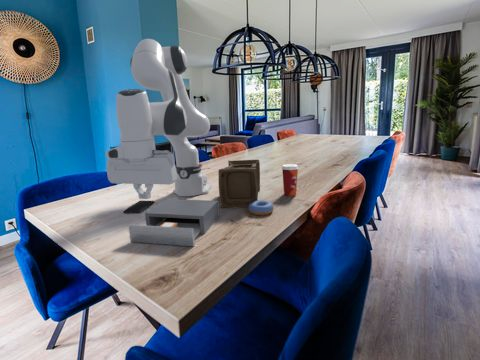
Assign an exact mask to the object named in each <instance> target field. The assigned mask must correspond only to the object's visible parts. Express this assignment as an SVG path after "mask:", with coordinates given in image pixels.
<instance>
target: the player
mask: <svg viewBox="0 0 480 360" xmlns="http://www.w3.org/2000/svg"><path fill="white" fill-rule="evenodd" d="M219 207H220V206H219V200H210V199H209V200H206V199H205V200H203V199H182V198H181V199H178V198H177V199H176V198H175V199H172V198H166V199H164V200H162V201H160V202H159V203H158V204H156V205H155V206H153V207H152V208H150V209H148V210H147V211H146V212H144V216H145V218H144V219H145V225H148V226H155V225H156V224H157V223H159V222H164V221H165V220H166V219H167V218H170V219H171V218H173V219H187V220H188V219H189V220H199V224H200V233H199V234H201V235H205V234H206V233H207V232H208V230H209V229H210V228H211V227H212V225H214V223H215V222H216V221H217V220H218V219H219V218H220V211H219V210H220V209H219Z"/></svg>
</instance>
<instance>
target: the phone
mask: <svg viewBox="0 0 480 360" xmlns="http://www.w3.org/2000/svg"><path fill="white" fill-rule="evenodd" d="M154 204H155V200H139V201H137V202H135V203H134V204H131V205H130V206H129V207H128V208H125V209H124V210H123V212H122V213H123V214H128V215H129V214H130V215H132V214H133V215H135V214H136V215H137V214H138V215H139V214H141V213H144V211H146V210H147V209H148V208H149V206H150V207H151V206H153V205H154Z"/></svg>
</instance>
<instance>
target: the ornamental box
mask: <svg viewBox="0 0 480 360" xmlns="http://www.w3.org/2000/svg"><path fill="white" fill-rule="evenodd" d="M227 162H228V166H227V167H226V166H225V167H223V168H219V169H218V170H217V171H218V194H219V203H220V209H221V208H223V209H224V208H225V209H249V205H250V204H251V203H252V202H254V201H259V192H260V191H261V178H260V177H261V165H260V159H243V160H242V159H239V160H228V161H227Z"/></svg>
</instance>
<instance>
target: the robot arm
mask: <svg viewBox="0 0 480 360" xmlns="http://www.w3.org/2000/svg"><path fill="white" fill-rule="evenodd" d="M129 63H130V64H129V65H130V70H131V75H132V77H133V79H134V81H135V82H136V83H137V84H138V85H139V86H140V87H142V88H144V89H147V90H150V91H156V92H160V95H161V98H162V100H163V101H155V102H150V100H149V96H148V93H147V91H146V90H144V89H141V88H129V89H122V90H120V91H118V92H117V94H116V103H115V104H116V105H115V106H116V107H115V108H116V120H117V125H118V128H119V130H120V139H119V140H120V141H119V142H120V145H118V146H115V147H114V148H110V149H108V150H106V151H105V158H107V161H106V173H107V179H108V181H109V183H111V184H124V185H125V184H129V185H130V184H131V185H132V186H133V189H134V190H135V192H136V193H137V194H138V195H137V197H138V199H140V200H150V199H151V198H152V193H151V192H152V190H153V189H154V188H153V187H154V185H172V184H174V189H173V190H172V192H173V193H175V195H177V196H179V197H195V196H199V195H204V194H209V192H210V190H211V188H212V186H213V185H212V183H210V182H209V183H208V177H207V175H206V174H205V173H204V172H202V168H203V163H202V162H201V163H200V160H199V150H198V148H197V147H196V146H195V145H193V144H191V142H190V141H189V139H188V138H198V137H203V136H207V135H208V133H209V132H210V129H211V122H210V120H209V118H208V117H207V115H205V114H204V113H202V112H201V111H199V110H198V109H197V108H196V107H195V105H193V103H192V101H191V100H190V98H189V95H188V93H187V92H188V91H187V89H186V86H185V83H184V79H183V77H182V74H183V73H185V72H186V71H187V69H188V57H187V54H186V53H185V51H184V49H183V48H182V47H181V46H180V45H171V46H162V45H161V44H160V43H159V42H158V41H156V39H152V38H145V39H142V40H140V41H139V42H138V43H137V45H136V47H135V49H134V52H133V54H132V55H131V57H130V60H129ZM155 136H164V137H165V138H166V139H167V140H168V141H169V142H170V144H171V146H172V148H173V150H174V153H172V152H171V151H170V150H167V149H165V150H164V149H163V150H160V149H156V142H155V141H156V140H155ZM175 162H176V163H175ZM143 185H144V188H146V189H145V190H144V189H143V188H142V187H141V186H143Z"/></svg>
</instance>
